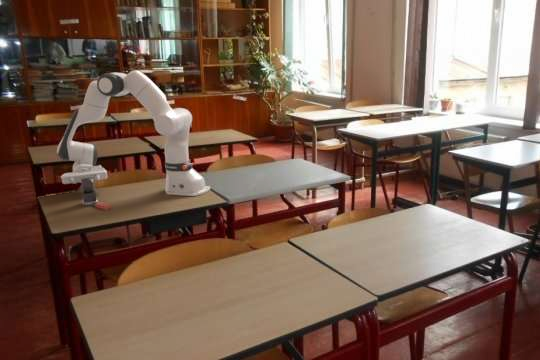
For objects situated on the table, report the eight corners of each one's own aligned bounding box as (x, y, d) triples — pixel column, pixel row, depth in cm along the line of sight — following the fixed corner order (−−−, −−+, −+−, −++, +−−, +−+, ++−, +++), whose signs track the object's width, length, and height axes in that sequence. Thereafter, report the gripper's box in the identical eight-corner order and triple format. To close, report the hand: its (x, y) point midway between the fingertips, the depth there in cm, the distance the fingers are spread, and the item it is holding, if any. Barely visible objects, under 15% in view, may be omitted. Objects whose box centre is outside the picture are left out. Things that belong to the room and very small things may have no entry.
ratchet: (79, 204, 214) (77, 194, 212) (92, 200, 219) (91, 190, 218) (102, 211, 203) (100, 201, 202) (115, 206, 209) (114, 197, 208)
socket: (83, 199, 215) (80, 178, 212) (95, 197, 217) (92, 176, 214) (84, 202, 211) (81, 181, 208) (96, 201, 213) (93, 179, 210)
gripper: (59, 169, 226) (60, 176, 214) (104, 164, 234) (107, 171, 222) (61, 182, 228) (62, 190, 216) (105, 177, 236) (109, 184, 224)
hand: (86, 180), depth 219 cm, fingers open, 8 cm apart
